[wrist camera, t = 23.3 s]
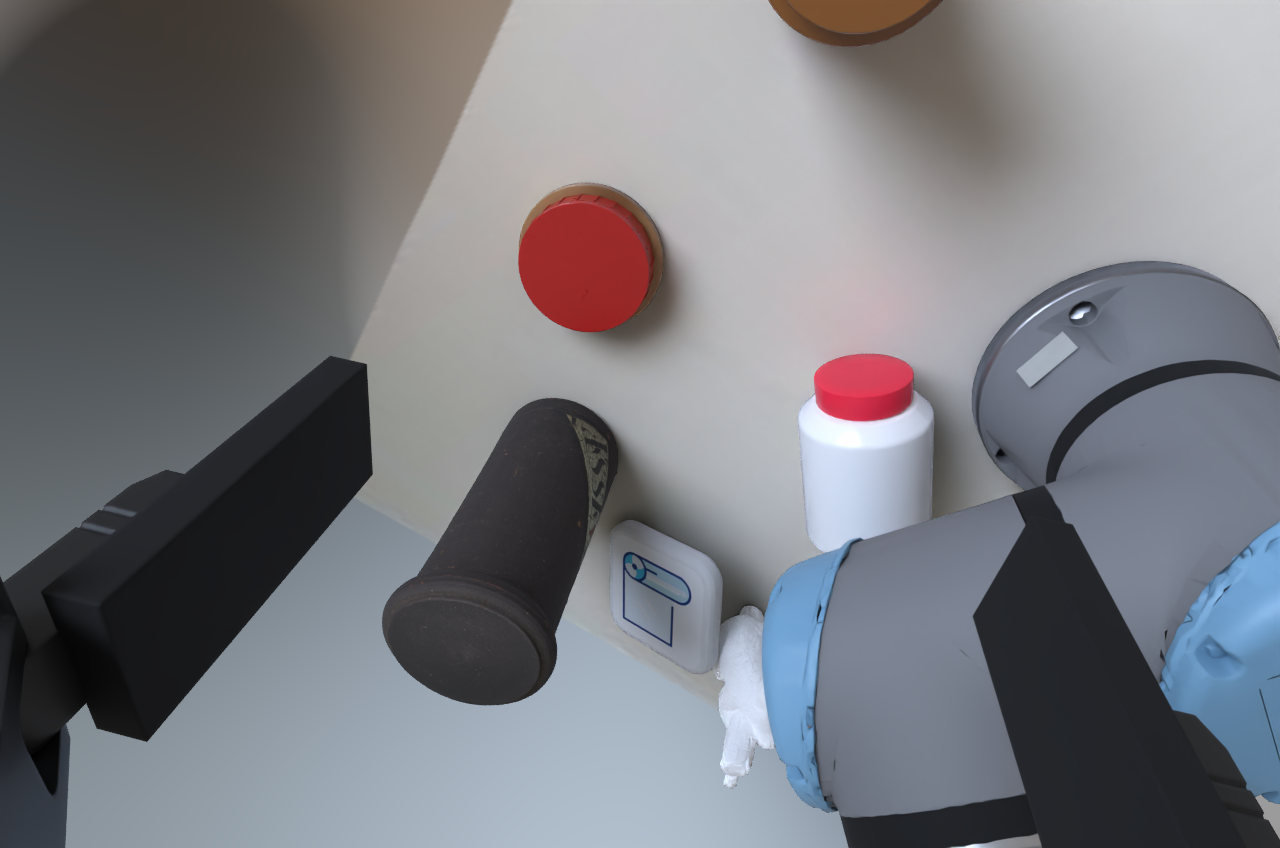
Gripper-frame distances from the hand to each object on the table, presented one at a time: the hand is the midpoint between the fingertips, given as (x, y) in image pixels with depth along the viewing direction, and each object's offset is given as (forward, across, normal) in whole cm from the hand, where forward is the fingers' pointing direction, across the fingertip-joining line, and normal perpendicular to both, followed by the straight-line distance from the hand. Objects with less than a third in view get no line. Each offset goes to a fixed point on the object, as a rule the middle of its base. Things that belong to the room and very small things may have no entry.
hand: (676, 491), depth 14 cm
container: (+31, +8, +22) cm, 38 cm away
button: (+30, +3, +31) cm, 43 cm away
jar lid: (+29, +8, +7) cm, 31 cm away
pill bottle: (+27, -13, +20) cm, 36 cm away
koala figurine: (+31, -9, +34) cm, 47 cm away
